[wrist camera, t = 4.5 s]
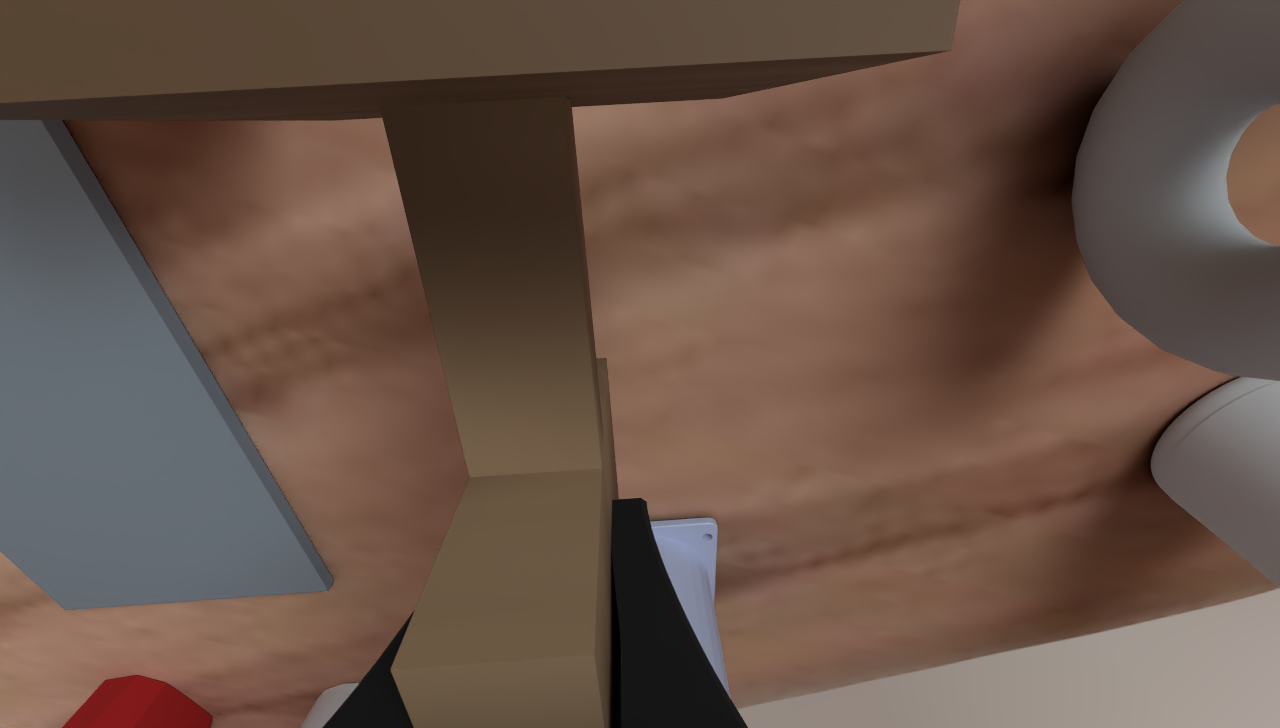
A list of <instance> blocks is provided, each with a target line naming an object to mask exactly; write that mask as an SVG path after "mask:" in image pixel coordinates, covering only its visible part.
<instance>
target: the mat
mask: <svg viewBox="0 0 1280 728" xmlns="http://www.w3.org/2000/svg"><path fill="white" fill-rule="evenodd" d="M0 551H1V552H2V553H3V554H4V555H5V556H6V557H7V558H8V559H9V560H11V561H12V562H13V563H14V564H15V565H16V566H17V567H18V568H19V569H20V570H22V571H23V572H24V573H25V574H26V575H27V576H28V577H29V578H30V579H31V580H33V581H34V582H35V583H36V584H37V585H38V586H39V587H40V588H41V589H42V590H43V591H45V592H46V593H47V594H48V595H49V596H50V597H51V598H52V599H53V600H54V601H56V602H57V603H58V604H59V605H60V606H61V607H62V608H63V609H64V610H74V609H88V608H102V607H116V606H130V605H144V604H157V603H171V602H185V601H199V600H213V599H226V598H240V597H254V596H268V595H282V594H295V593H309V592H323V591H329V589H330V587H331V585H332V583H333V581H334V580H333V578H332V576H331V575H330V573H329V571H328V570H327V568H326V566H325V565H324V563H323V561H322V559H321V558H320V556H319V554H318V553H317V551H316V549H315V548H314V546H313V544H312V543H311V541H310V539H309V537H308V536H307V534H306V532H305V531H304V529H303V527H302V526H301V524H300V522H299V521H298V519H297V517H296V515H295V514H294V512H293V510H292V509H291V507H290V505H289V504H288V502H287V500H286V499H285V497H284V495H283V493H282V492H281V490H280V488H279V487H278V485H277V483H276V482H275V480H274V478H273V477H272V475H271V473H270V471H269V470H268V468H267V466H266V465H265V463H264V461H263V460H262V458H261V456H260V454H259V453H258V451H257V449H256V448H255V446H254V444H253V443H252V441H251V439H250V438H249V436H248V434H247V432H246V431H245V429H244V427H243V426H242V424H241V422H240V421H239V419H238V417H237V416H236V414H235V412H234V410H233V409H232V407H231V405H230V404H229V402H228V400H227V399H226V397H225V395H224V394H223V392H222V390H221V388H220V387H219V385H218V383H217V382H216V380H215V378H214V377H213V375H212V373H211V372H210V370H209V368H208V366H207V365H206V363H205V361H204V360H203V358H202V356H201V355H200V353H199V351H198V350H197V348H196V346H195V344H194V343H193V341H192V339H191V338H190V336H189V334H188V333H187V331H186V329H185V328H184V326H183V324H182V322H181V321H180V319H179V317H178V316H177V314H176V312H175V311H174V309H173V307H172V306H171V304H170V302H169V300H168V299H167V297H166V295H165V294H164V292H163V290H162V289H161V287H160V285H159V284H158V282H157V280H156V278H155V277H154V275H153V273H152V272H151V270H150V268H149V267H148V265H147V263H146V262H145V260H144V258H143V256H142V255H141V253H140V251H139V250H138V248H137V246H136V245H135V243H134V241H133V240H132V238H131V236H130V234H129V233H128V231H127V229H126V228H125V226H124V224H123V223H122V221H121V219H120V217H119V216H118V214H117V212H116V211H115V209H114V207H113V206H112V204H111V202H110V201H109V199H108V197H107V195H106V194H105V192H104V190H103V189H102V187H101V185H100V184H99V182H98V180H97V179H96V177H95V175H94V173H93V172H92V170H91V168H90V167H89V165H88V163H87V162H86V160H85V158H84V157H83V155H82V153H81V151H80V150H79V148H78V146H77V145H76V143H75V141H74V140H73V138H72V136H71V135H70V133H69V131H68V129H67V128H66V126H65V124H64V123H63V121H62V120H0Z"/></svg>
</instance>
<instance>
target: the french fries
mask: <svg viewBox="0 0 1280 728" xmlns="http://www.w3.org/2000/svg"><path fill="white" fill-rule="evenodd" d="M211 722H212V716H211V715H209V714H208V713H207V712H206V711H205V710H203V709H202V708H201V707H200V706H198V705H197V704H196V703H194V702H193V701H192V700H190V699H189V698H187V697H186V696H185V695H183V694H182V693H180V692H179V691H177V690H176V689H174V688H173V687H171V686H170V685H168V684H167V683H164V682H160V681H157V680H153V679H149V678H145V677H142V676H138V675H135V676H129V677H123V678H116V679H110V680H105V681H104V682H103V683H102V684H101V685H100V686H99V688H98V689H97V690H96V691H95V692H94V693H93V694H92V695H91V696H90V697H89V699H88V700H87V701H86V702H85V703H84V704H83V705H82V706H81V707H80V708H79V710H78V711H77V712H76V713H75V714H74V715H73V716H72V717H71V718H70V719H69V721H68V722H67V723H66V724H65V725H64V726H63V727H62V728H210V727H211Z"/></svg>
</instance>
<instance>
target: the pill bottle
mask: <svg viewBox="0 0 1280 728" xmlns="http://www.w3.org/2000/svg"><path fill="white" fill-rule="evenodd" d="M1151 472H1152V475H1153V477H1154V479H1155V481H1156V483H1157V484H1158V485H1159V487H1160V488H1161V489H1162V490H1163V491H1164V492H1165V493H1166V494H1167V495H1168V496H1169V497H1170V498H1171V499H1172V500H1173V501H1175V502H1176V503H1177V504H1178V505H1179V506H1181V507H1182V508H1183V509H1184V510H1185V511H1187V512H1188V513H1189V514H1190V515H1192V516H1193V517H1194V518H1195V519H1196V520H1198V521H1199V522H1200V523H1201V524H1203V525H1204V526H1205V527H1206V528H1207V529H1209V530H1210V531H1211V532H1212V533H1214V534H1215V535H1216V536H1217V537H1218V538H1220V539H1221V540H1222V541H1223V542H1224V543H1226V544H1227V545H1228V546H1229V547H1231V548H1232V549H1233V550H1234V551H1235V552H1237V553H1238V554H1239V555H1240V556H1242V557H1243V558H1244V559H1245V560H1246V561H1248V562H1249V563H1250V564H1251V565H1253V566H1254V567H1255V568H1256V569H1257V570H1259V571H1260V572H1261V573H1262V574H1264V575H1265V576H1266V577H1267V578H1268V579H1270V580H1271V581H1272V582H1273V583H1274V584H1276V585H1277V586H1278V587H1279V588H1280V381H1274V380H1266V379H1257V378H1248V377H1240V378H1237V379H1235V380H1233V381H1231V382H1229V383H1227V384H1225V385H1223V386H1221V387H1219V388H1217V389H1215V390H1214V391H1212V392H1210V393H1209V394H1207V395H1206V396H1204V397H1203V398H1201V399H1200V400H1198V401H1197V402H1195V403H1194V404H1193V405H1191V406H1190V407H1189V408H1188V409H1186V410H1185V411H1184V412H1183V413H1182V414H1181V415H1180V416H1179V417H1177V418H1176V419H1175V420H1174V421H1173V423H1172V424H1171V425H1170V426H1169V427H1168V428H1167V429H1166V431H1165V432H1164V433H1163V435H1162V436H1161V438H1160V439H1159V441H1158V442H1157V444H1156V446H1155V448H1154V451H1153V454H1152V458H1151Z"/></svg>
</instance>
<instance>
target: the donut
mask: <svg viewBox="0 0 1280 728" xmlns="http://www.w3.org/2000/svg"><path fill="white" fill-rule="evenodd" d="M1275 104H1280V0H1184V1H1183V2H1182V3H1181V4H1179V5H1178V6H1177V7H1176V8H1175V9H1174V10H1173V11H1172V12H1171V13H1170V14H1169V15H1168V16H1167V17H1166V18H1165V19H1164V20H1163V21H1162V22H1161V23H1160V24H1159V25H1158V26H1156V27H1155V28H1154V29H1153V30H1152V31H1151V32H1150V33H1149V34H1148V35H1147V36H1146V37H1145V38H1144V39H1143V40H1142V41H1141V42H1140V43H1139V44H1138V45H1137V46H1136V47H1135V48H1134V49H1133V50H1132V51H1131V52H1130V53H1129V55H1128V56H1127V58H1126V59H1125V61H1124V62H1123V64H1122V66H1121V67H1120V69H1119V70H1118V72H1117V73H1116V75H1115V76H1114V78H1113V80H1112V81H1111V83H1110V84H1109V86H1108V87H1107V89H1106V91H1105V92H1104V94H1103V95H1102V97H1101V98H1100V100H1099V101H1098V103H1097V105H1096V106H1095V108H1094V110H1093V112H1092V115H1091V118H1090V120H1089V123H1088V126H1087V129H1086V131H1085V134H1084V137H1083V140H1082V143H1081V145H1080V148H1079V151H1078V154H1077V156H1076V165H1075V173H1074V182H1073V190H1072V199H1071V202H1072V210H1073V218H1074V226H1075V235H1076V242H1077V245H1078V247H1079V250H1080V252H1081V255H1082V257H1083V260H1084V263H1085V265H1086V268H1087V270H1088V273H1089V275H1090V278H1091V280H1092V282H1093V283H1094V284H1095V286H1096V287H1097V288H1098V290H1099V291H1100V292H1101V294H1102V295H1103V296H1104V298H1105V299H1106V300H1107V302H1108V303H1109V304H1110V306H1111V307H1112V308H1113V310H1114V311H1115V312H1116V314H1117V315H1118V316H1119V317H1120V318H1122V319H1123V320H1124V321H1125V322H1126V323H1128V324H1129V325H1130V326H1132V327H1133V328H1134V329H1136V330H1137V331H1138V332H1139V333H1141V334H1142V335H1143V336H1145V337H1146V338H1147V339H1149V340H1150V341H1151V342H1153V343H1154V344H1155V345H1156V346H1158V347H1159V348H1160V349H1162V350H1164V351H1166V352H1169V353H1171V354H1174V355H1176V356H1179V357H1181V358H1184V359H1186V360H1189V361H1191V362H1194V363H1196V364H1199V365H1201V366H1204V367H1206V368H1209V369H1211V370H1214V371H1217V372H1221V373H1225V374H1228V375H1232V376H1240V377H1248V378H1257V379H1266V380H1274V381H1280V246H1278V245H1272V244H1268V243H1266V242H1264V241H1262V240H1260V239H1258V238H1256V237H1254V236H1253V235H1252V234H1251V233H1250V232H1249V231H1248V230H1247V229H1246V228H1245V227H1244V226H1243V225H1242V224H1241V223H1240V222H1239V221H1238V220H1237V218H1236V216H1235V214H1234V212H1233V210H1232V208H1231V205H1230V203H1229V201H1228V194H1227V183H1226V174H1227V170H1228V165H1229V161H1230V157H1231V153H1232V151H1233V149H1234V148H1235V146H1236V144H1237V142H1238V140H1239V139H1240V137H1241V135H1242V133H1243V131H1244V130H1245V129H1246V128H1247V127H1248V126H1249V125H1250V124H1251V122H1252V121H1253V120H1254V119H1255V118H1256V117H1257V116H1258V115H1259V114H1260V113H1261V112H1263V111H1264V110H1266V109H1268V108H1269V107H1271V106H1272V105H1275Z"/></svg>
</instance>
